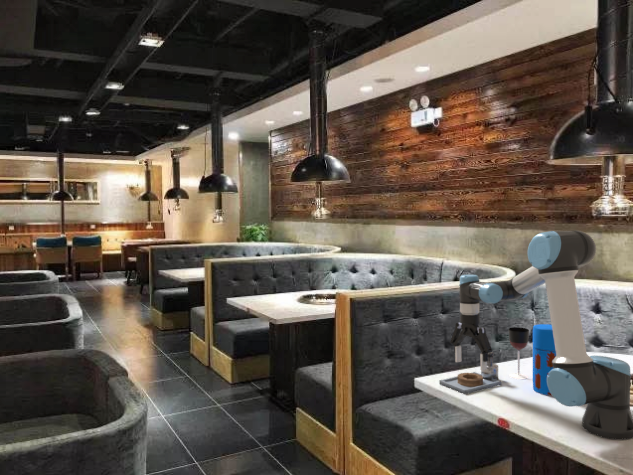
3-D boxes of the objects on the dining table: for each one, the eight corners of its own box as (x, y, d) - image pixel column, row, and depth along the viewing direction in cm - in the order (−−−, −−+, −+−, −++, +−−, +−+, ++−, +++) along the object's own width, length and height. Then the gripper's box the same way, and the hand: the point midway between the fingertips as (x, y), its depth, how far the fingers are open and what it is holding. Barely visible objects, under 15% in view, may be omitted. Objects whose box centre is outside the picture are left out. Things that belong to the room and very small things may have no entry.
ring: (483, 387, 207) (483, 381, 207) (457, 385, 209) (457, 379, 209) (482, 379, 216) (482, 373, 216) (457, 378, 219) (457, 372, 219)
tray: (500, 384, 212) (500, 381, 212) (464, 394, 202) (464, 390, 202) (474, 375, 224) (474, 371, 224) (439, 384, 214) (439, 380, 214)
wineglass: (509, 379, 219) (510, 331, 218) (507, 372, 227) (507, 326, 226) (530, 380, 217) (530, 332, 216) (527, 373, 225) (527, 327, 224)
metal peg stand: (499, 382, 214) (499, 355, 213) (481, 381, 216) (481, 354, 215) (498, 377, 221) (498, 351, 220) (480, 376, 223) (480, 350, 222)
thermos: (566, 396, 198) (566, 330, 196) (535, 394, 200) (536, 330, 198) (558, 386, 208) (559, 324, 207) (530, 385, 211) (530, 323, 209)
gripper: (501, 316, 202) (501, 371, 203) (454, 308, 224) (455, 357, 225) (487, 319, 198) (488, 374, 199) (441, 310, 220) (442, 360, 221)
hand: (470, 365), depth 212 cm, fingers open, 13 cm apart
